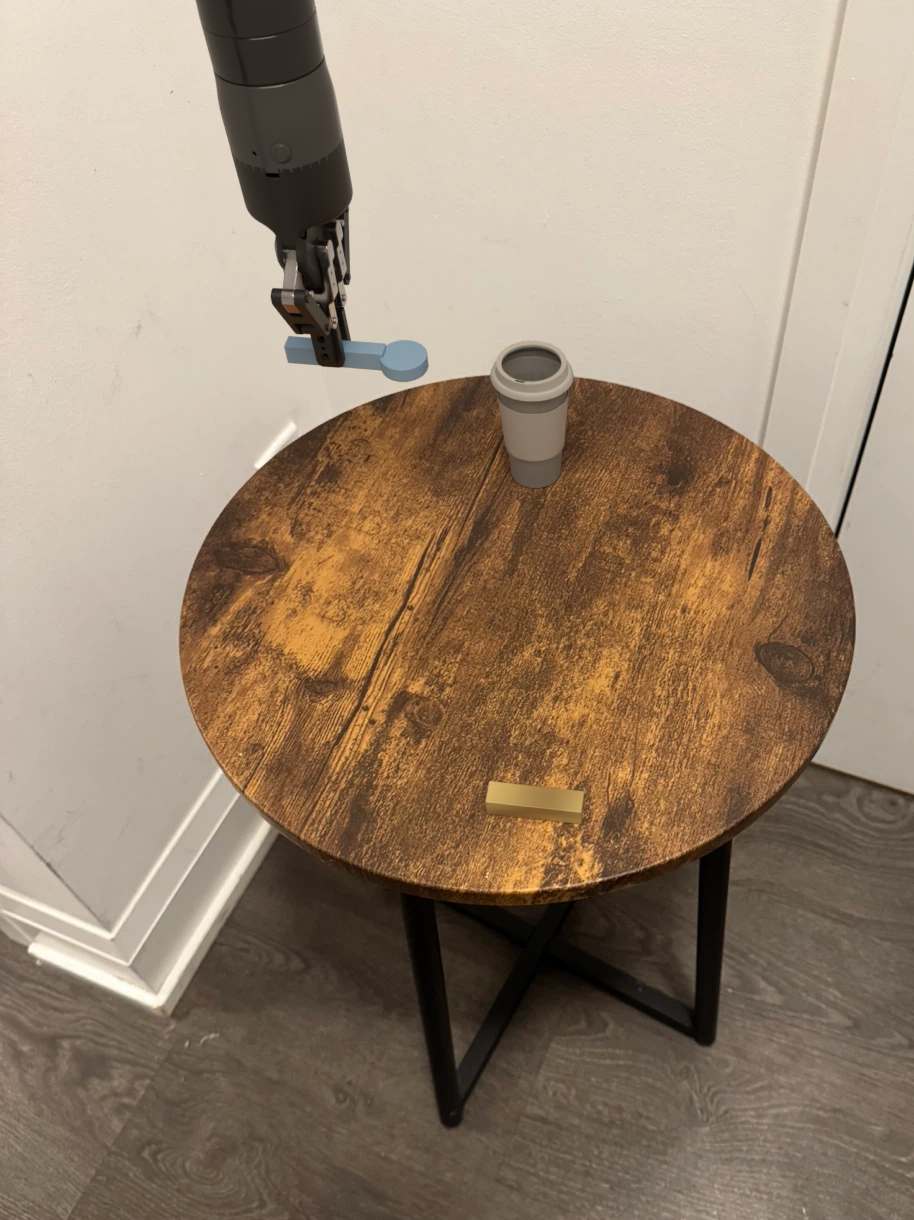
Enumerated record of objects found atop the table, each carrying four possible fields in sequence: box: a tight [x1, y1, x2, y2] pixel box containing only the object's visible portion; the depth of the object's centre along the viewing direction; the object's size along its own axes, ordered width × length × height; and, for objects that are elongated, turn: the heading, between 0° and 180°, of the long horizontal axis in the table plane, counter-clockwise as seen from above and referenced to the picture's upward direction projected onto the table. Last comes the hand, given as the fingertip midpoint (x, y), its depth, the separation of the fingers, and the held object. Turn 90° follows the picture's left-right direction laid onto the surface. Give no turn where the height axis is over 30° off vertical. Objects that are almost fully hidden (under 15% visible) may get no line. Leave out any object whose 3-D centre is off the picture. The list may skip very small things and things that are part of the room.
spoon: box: [283, 335, 429, 383], centre depth 83 cm, size 11×4×2 cm, turn 82°
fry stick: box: [484, 780, 585, 825], centre depth 76 cm, size 7×2×2 cm, turn 82°
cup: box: [489, 340, 575, 489], centre depth 92 cm, size 7×7×12 cm
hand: (335, 356), depth 83 cm, fingers closed on spoon, 1 cm apart
